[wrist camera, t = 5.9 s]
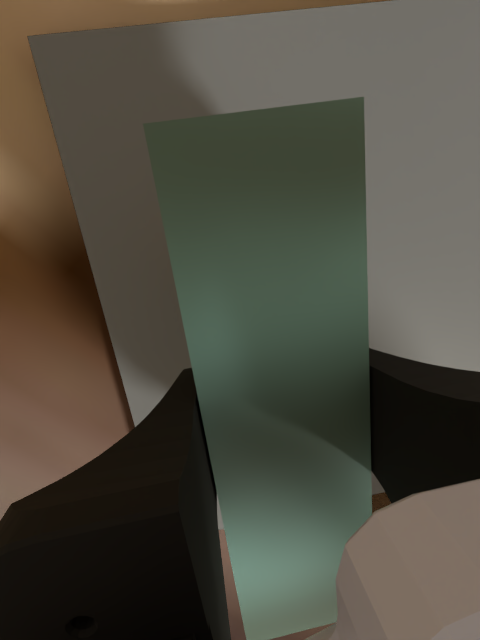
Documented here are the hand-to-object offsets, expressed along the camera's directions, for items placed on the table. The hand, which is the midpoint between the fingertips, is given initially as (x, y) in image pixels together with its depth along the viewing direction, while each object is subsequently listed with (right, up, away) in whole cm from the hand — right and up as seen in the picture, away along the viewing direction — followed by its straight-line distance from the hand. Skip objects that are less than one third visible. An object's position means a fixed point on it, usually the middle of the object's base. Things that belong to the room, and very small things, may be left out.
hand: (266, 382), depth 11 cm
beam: (0, 0, +1) cm, 1 cm away
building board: (+6, +3, +7) cm, 10 cm away
